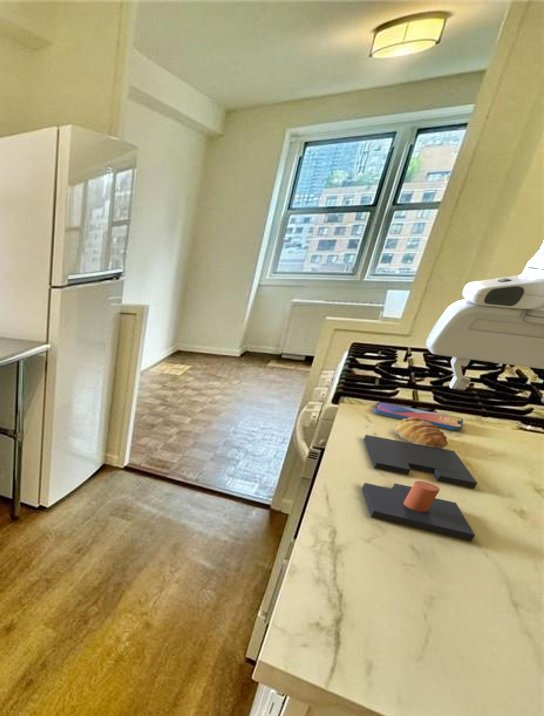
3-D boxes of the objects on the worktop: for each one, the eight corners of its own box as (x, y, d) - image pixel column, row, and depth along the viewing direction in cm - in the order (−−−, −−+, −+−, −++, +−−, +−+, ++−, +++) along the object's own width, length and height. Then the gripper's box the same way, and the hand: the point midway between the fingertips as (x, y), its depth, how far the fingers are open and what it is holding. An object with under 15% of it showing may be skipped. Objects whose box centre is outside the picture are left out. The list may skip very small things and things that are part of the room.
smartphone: (377, 405, 119) (378, 401, 118) (461, 422, 109) (463, 418, 109) (372, 413, 114) (374, 409, 114) (459, 432, 105) (462, 428, 104)
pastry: (455, 452, 97) (465, 435, 95) (419, 451, 98) (428, 434, 96) (419, 432, 105) (427, 416, 103) (386, 431, 106) (394, 415, 104)
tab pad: (448, 501, 82) (463, 474, 79) (471, 541, 72) (489, 513, 70) (359, 481, 87) (371, 456, 85) (370, 517, 78) (384, 489, 75)
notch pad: (451, 456, 96) (454, 450, 95) (474, 488, 85) (477, 483, 84) (363, 439, 102) (365, 434, 101) (374, 468, 91) (376, 462, 91)
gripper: (677, 300, 59) (601, 405, 65) (451, 282, 68) (405, 375, 75) (708, 309, 54) (623, 421, 60) (461, 288, 64) (411, 387, 70)
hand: (501, 395), depth 68 cm, fingers open, 8 cm apart
